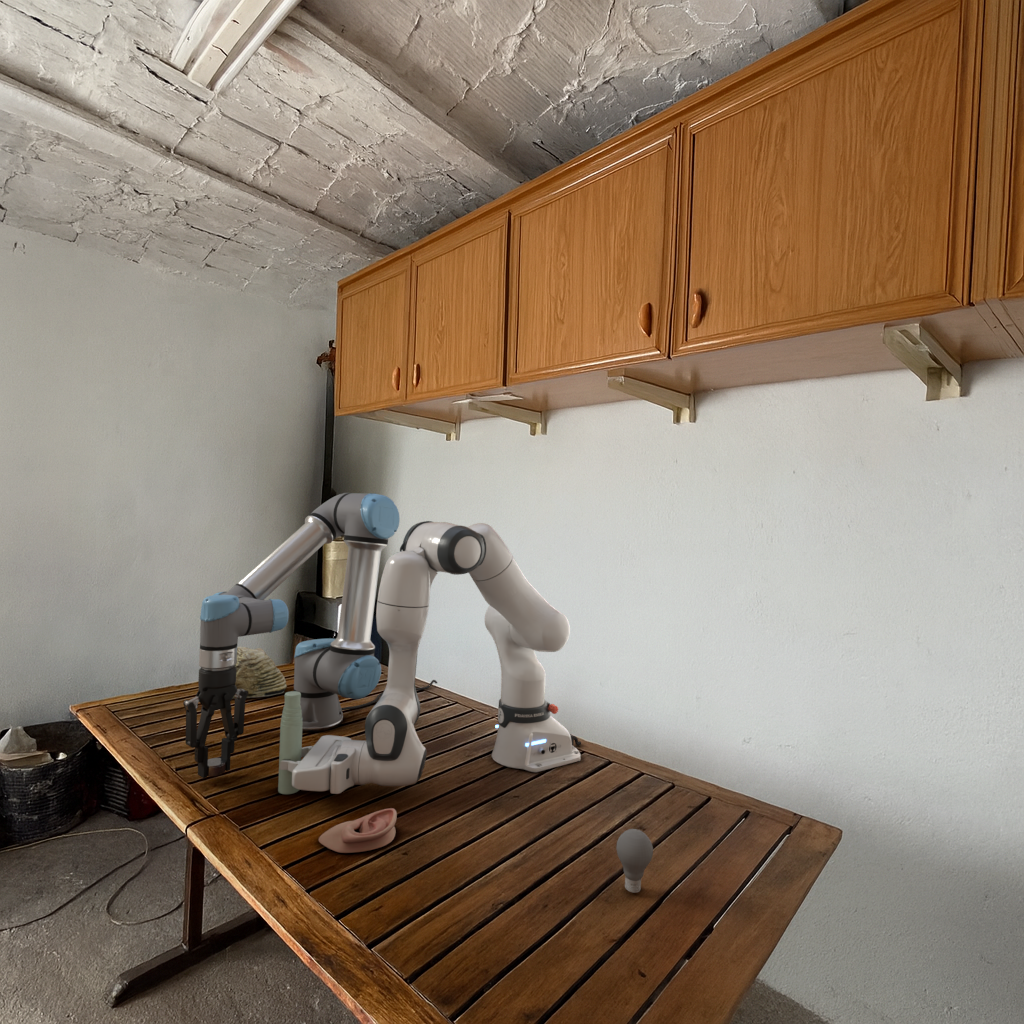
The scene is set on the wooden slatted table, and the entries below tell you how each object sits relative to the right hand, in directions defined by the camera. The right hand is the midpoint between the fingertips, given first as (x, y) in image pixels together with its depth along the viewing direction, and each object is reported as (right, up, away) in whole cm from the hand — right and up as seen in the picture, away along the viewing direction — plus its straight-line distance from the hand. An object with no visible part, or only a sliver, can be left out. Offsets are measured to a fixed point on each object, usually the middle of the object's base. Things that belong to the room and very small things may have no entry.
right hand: (286, 758), depth 136 cm
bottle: (+1, -7, 0) cm, 7 cm away
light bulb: (+69, -10, -31) cm, 76 cm away
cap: (-17, -2, +3) cm, 17 cm away
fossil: (-32, -4, +62) cm, 70 cm away
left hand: (-17, -4, +3) cm, 18 cm away
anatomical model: (+20, -8, -18) cm, 28 cm away
